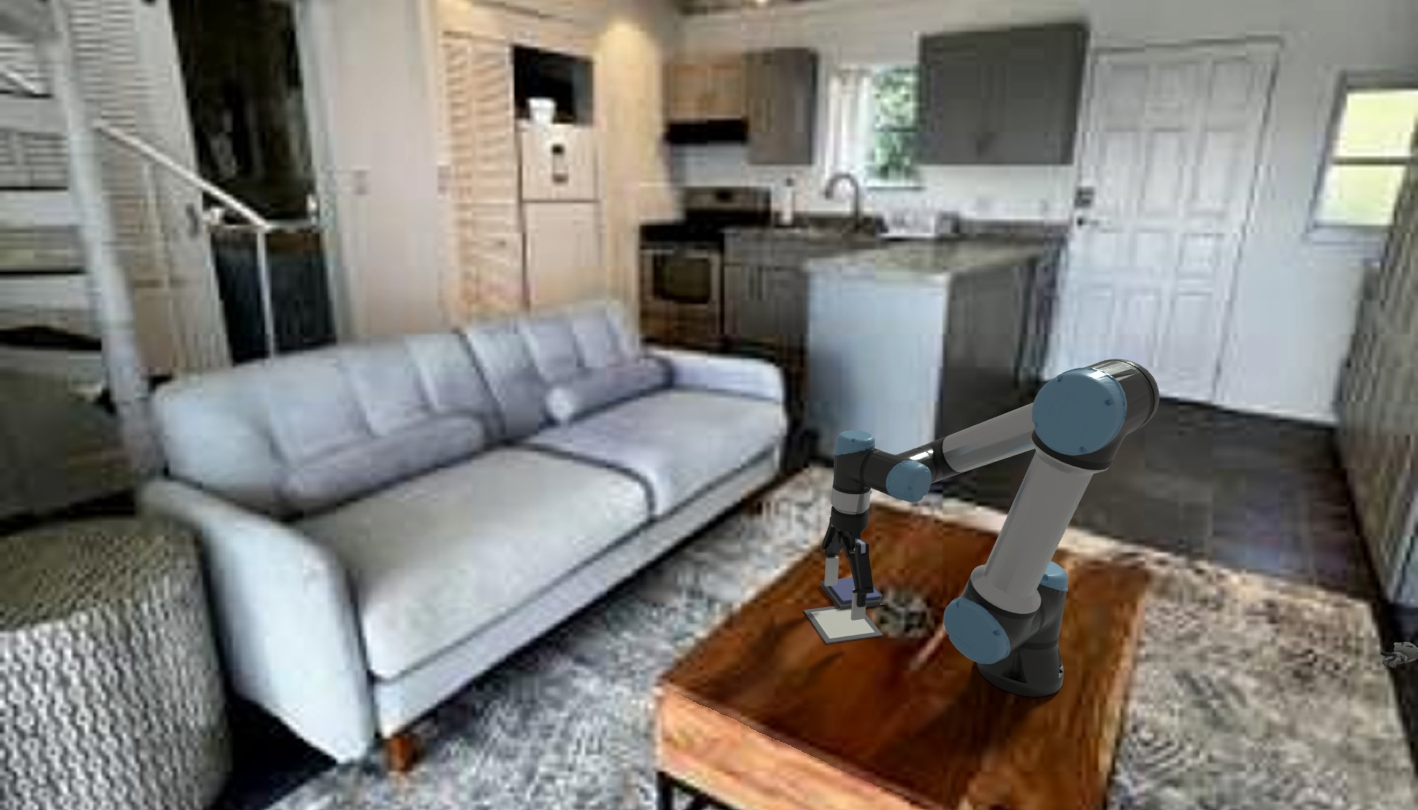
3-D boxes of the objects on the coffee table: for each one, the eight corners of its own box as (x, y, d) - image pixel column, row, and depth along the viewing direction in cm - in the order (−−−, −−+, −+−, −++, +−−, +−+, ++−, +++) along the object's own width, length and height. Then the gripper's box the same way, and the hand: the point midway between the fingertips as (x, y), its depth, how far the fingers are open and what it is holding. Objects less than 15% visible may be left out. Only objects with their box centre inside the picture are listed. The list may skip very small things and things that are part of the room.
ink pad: (886, 604, 166) (887, 597, 165) (840, 611, 163) (840, 603, 163) (864, 580, 176) (865, 573, 176) (820, 585, 174) (821, 578, 173)
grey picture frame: (882, 635, 155) (882, 634, 154) (826, 644, 152) (826, 642, 151) (856, 604, 166) (856, 603, 166) (803, 611, 163) (803, 610, 163)
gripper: (897, 532, 141) (888, 631, 147) (842, 482, 164) (836, 570, 170) (859, 536, 139) (852, 637, 145) (809, 485, 162) (804, 574, 168)
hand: (843, 601), depth 157 cm, fingers open, 13 cm apart
